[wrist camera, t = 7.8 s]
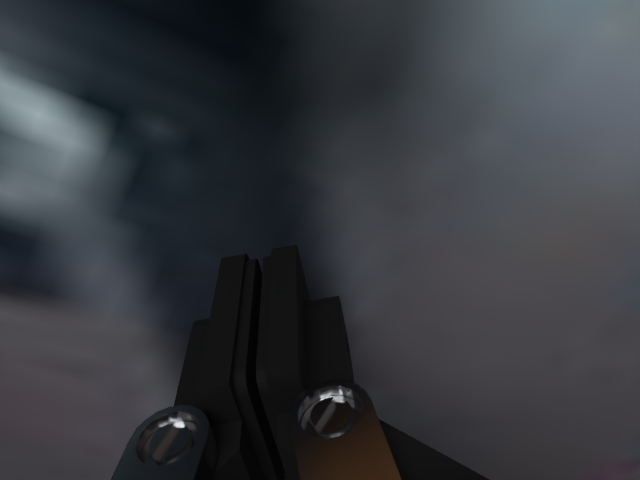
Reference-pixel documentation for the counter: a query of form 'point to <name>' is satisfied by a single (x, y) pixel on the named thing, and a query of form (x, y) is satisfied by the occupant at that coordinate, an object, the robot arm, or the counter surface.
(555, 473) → the counter surface
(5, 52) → the counter surface
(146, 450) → the robot arm
